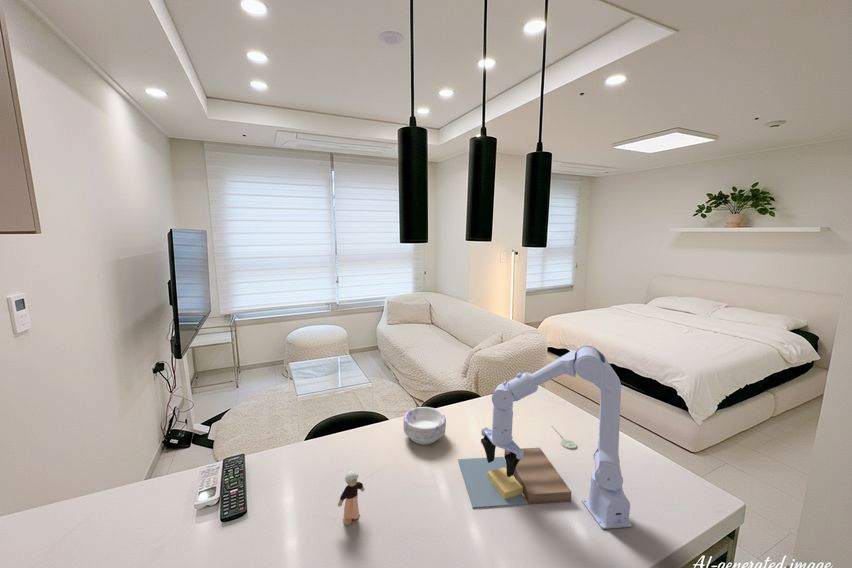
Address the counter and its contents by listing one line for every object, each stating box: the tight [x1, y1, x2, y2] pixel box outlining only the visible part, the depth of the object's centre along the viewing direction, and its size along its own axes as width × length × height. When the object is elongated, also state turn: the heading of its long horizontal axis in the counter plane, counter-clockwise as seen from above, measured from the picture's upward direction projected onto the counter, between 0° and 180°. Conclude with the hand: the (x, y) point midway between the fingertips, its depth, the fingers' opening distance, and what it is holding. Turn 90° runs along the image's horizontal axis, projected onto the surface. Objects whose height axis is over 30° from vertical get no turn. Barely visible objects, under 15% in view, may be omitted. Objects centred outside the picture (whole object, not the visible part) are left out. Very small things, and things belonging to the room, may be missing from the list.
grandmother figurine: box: [337, 470, 365, 526], centre depth 87 cm, size 8×4×13 cm, turn 148°
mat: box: [457, 456, 528, 510], centre depth 102 cm, size 20×15×1 cm
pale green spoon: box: [551, 425, 577, 450], centre depth 125 cm, size 5×1×15 cm
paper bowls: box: [403, 406, 447, 445], centre depth 123 cm, size 15×15×8 cm
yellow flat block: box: [487, 467, 524, 499], centre depth 99 cm, size 9×6×2 cm, turn 20°
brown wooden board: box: [503, 447, 572, 505], centre depth 103 cm, size 20×12×3 cm, turn 6°
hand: (500, 468), depth 102 cm, fingers open, 7 cm apart
